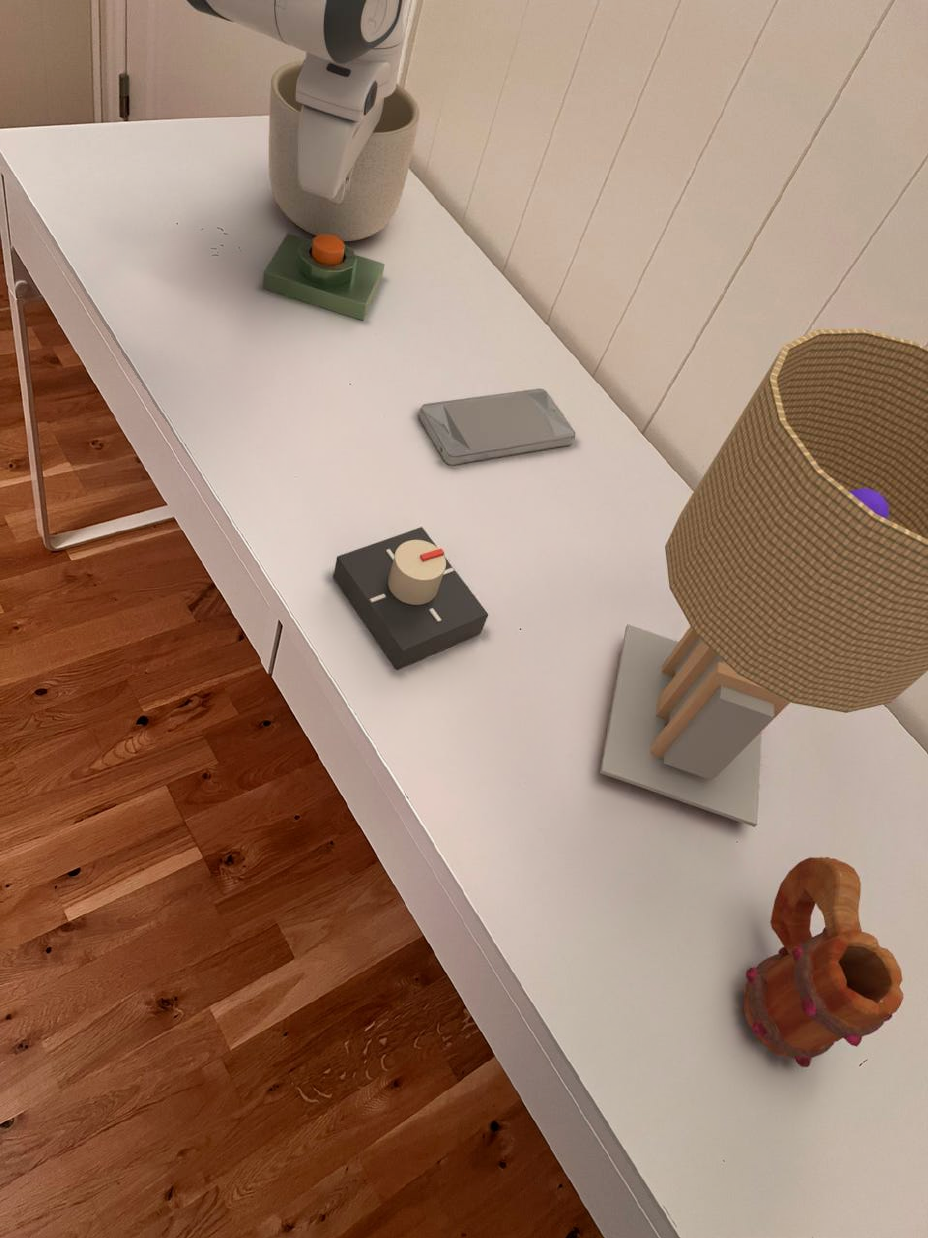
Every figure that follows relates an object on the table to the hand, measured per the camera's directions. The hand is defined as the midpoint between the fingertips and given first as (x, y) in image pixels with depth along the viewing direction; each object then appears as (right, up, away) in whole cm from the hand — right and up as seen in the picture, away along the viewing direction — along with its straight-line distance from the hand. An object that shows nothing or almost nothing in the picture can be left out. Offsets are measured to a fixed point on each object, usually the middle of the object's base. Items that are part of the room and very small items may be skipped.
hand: (337, 195), depth 98 cm
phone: (+17, -25, 0) cm, 31 cm away
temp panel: (+9, -45, -17) cm, 49 cm away
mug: (+37, -73, -30) cm, 87 cm away
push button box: (-3, -6, +9) cm, 11 cm away
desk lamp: (+33, -56, -18) cm, 67 cm away
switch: (-2, -4, +6) cm, 8 cm away
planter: (-3, +5, +17) cm, 18 cm away
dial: (+9, -43, -19) cm, 48 cm away
